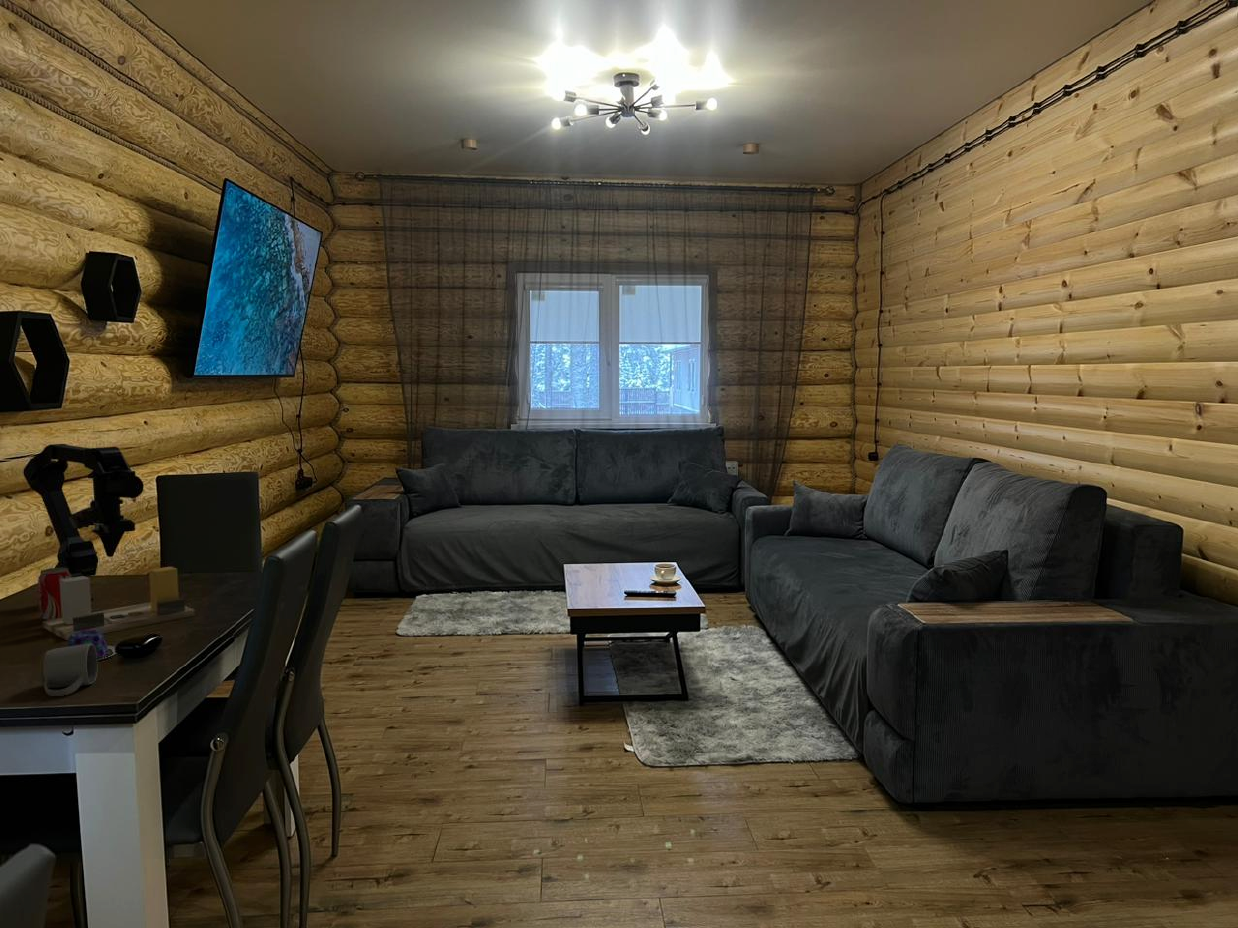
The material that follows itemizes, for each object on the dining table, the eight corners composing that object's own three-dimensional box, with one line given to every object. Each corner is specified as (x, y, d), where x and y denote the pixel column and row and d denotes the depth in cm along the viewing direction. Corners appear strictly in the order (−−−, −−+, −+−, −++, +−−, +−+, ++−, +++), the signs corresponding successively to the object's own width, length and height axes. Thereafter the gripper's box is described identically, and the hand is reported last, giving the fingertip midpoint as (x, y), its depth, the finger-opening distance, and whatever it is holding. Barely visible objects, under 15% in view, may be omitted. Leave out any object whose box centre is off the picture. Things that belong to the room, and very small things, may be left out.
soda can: (57, 622, 208) (54, 573, 207) (32, 621, 210) (29, 572, 209) (81, 615, 215) (78, 567, 214) (57, 613, 217) (54, 566, 216)
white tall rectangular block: (61, 621, 203) (59, 579, 202) (85, 617, 206) (83, 575, 205) (67, 624, 200) (65, 581, 199) (91, 620, 204) (89, 578, 203)
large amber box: (151, 609, 213) (149, 569, 212) (172, 605, 217) (170, 566, 216) (157, 612, 211) (155, 571, 210) (179, 608, 215) (177, 568, 214)
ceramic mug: (51, 681, 167) (48, 642, 166) (99, 676, 170) (97, 638, 169) (33, 700, 157) (30, 659, 156) (85, 695, 160) (82, 655, 159)
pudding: (56, 670, 174) (54, 645, 174) (50, 655, 184) (48, 631, 183) (124, 659, 182) (122, 634, 181) (114, 645, 191) (113, 622, 191)
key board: (43, 627, 204) (41, 608, 204) (167, 604, 225) (166, 587, 225) (66, 640, 194) (65, 620, 193) (194, 615, 215) (193, 597, 214)
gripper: (58, 496, 221) (61, 556, 222) (85, 502, 209) (88, 566, 210) (106, 492, 229) (109, 550, 231) (134, 497, 217) (137, 559, 219)
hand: (110, 556), depth 222 cm, fingers closed
